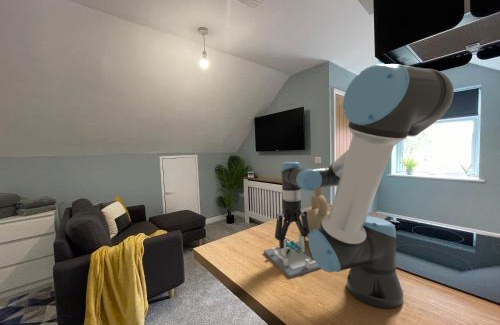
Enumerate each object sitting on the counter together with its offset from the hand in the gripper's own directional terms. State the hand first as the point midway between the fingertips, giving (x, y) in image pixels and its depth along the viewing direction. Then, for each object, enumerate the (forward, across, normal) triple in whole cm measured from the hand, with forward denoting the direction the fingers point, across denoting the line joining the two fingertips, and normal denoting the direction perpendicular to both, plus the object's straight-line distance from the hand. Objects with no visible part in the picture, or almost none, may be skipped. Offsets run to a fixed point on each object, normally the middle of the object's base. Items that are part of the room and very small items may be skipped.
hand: (293, 252), depth 87 cm
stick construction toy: (+2, -2, -2) cm, 4 cm away
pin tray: (+3, 0, 0) cm, 3 cm away
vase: (+3, -20, -7) cm, 21 cm away
